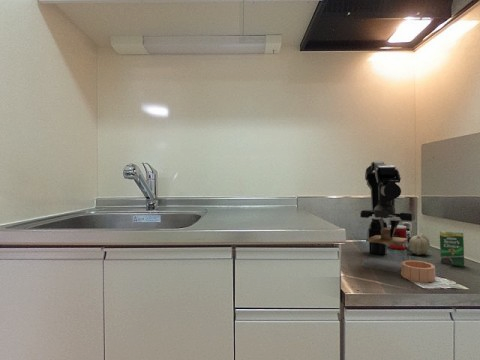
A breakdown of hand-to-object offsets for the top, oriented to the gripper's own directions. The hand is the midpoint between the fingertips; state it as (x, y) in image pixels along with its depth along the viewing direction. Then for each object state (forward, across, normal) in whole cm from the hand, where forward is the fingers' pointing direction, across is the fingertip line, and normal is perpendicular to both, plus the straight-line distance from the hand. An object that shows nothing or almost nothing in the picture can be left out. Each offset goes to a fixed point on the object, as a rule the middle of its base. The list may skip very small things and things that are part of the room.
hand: (386, 236), depth 118 cm
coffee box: (+12, +18, +21) cm, 30 cm away
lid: (+2, 0, 0) cm, 2 cm away
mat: (+12, -2, +2) cm, 12 cm away
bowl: (+12, +12, -6) cm, 18 cm away
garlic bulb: (+12, +5, +30) cm, 32 cm away
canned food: (+12, -6, +38) cm, 40 cm away
